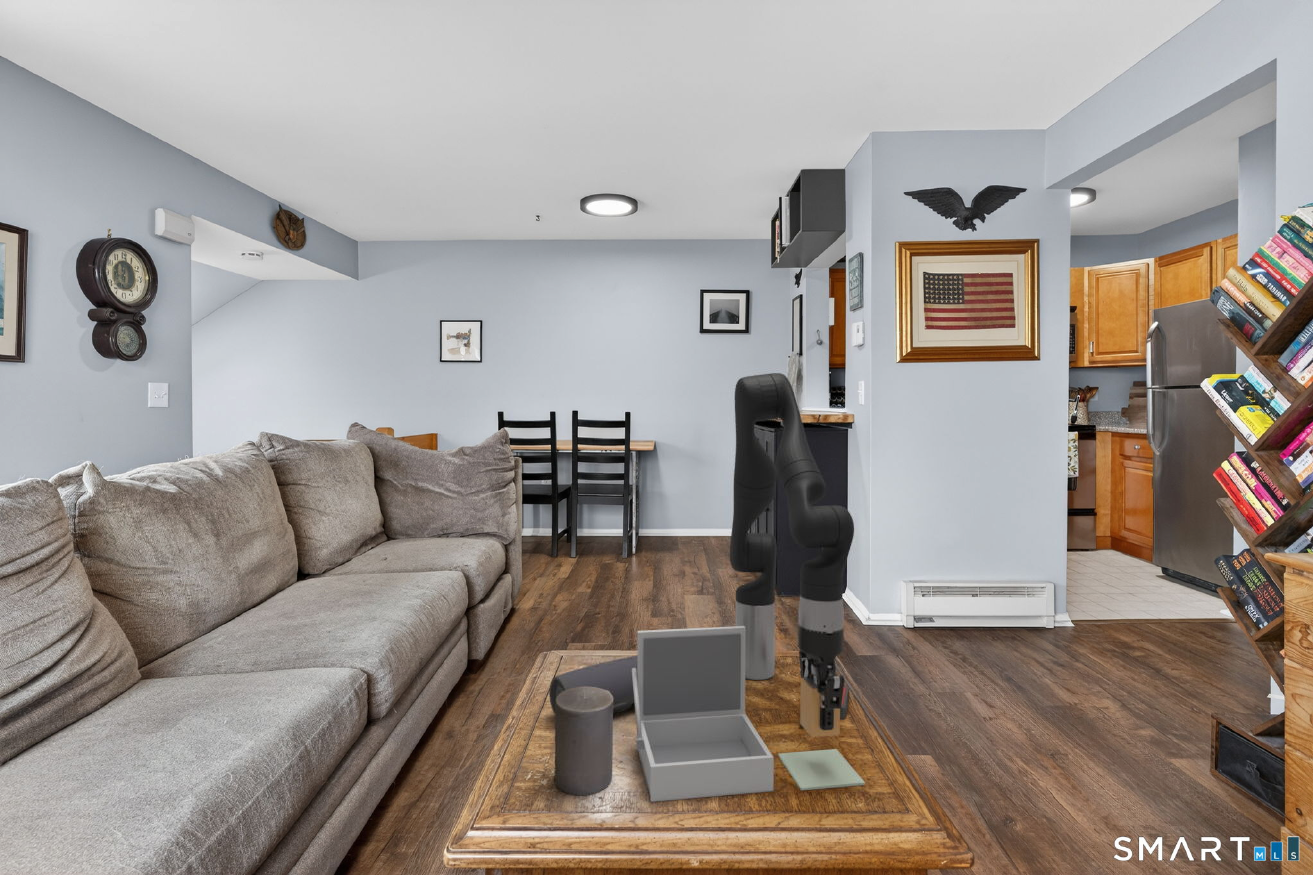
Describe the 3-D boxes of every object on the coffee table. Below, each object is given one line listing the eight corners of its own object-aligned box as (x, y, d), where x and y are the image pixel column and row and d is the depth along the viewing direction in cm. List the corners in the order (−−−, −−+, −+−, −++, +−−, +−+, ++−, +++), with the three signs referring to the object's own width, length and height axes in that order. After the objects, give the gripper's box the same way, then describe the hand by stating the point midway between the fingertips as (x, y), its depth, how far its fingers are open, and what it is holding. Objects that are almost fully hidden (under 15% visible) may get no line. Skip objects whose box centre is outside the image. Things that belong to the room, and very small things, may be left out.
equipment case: (630, 746, 119) (630, 630, 118) (742, 738, 122) (743, 624, 122) (643, 802, 101) (643, 666, 101) (773, 790, 105) (774, 658, 104)
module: (800, 723, 113) (800, 676, 113) (827, 721, 114) (827, 674, 114) (811, 737, 108) (811, 687, 108) (839, 735, 109) (840, 686, 109)
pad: (778, 755, 116) (778, 753, 116) (836, 751, 117) (836, 748, 117) (801, 790, 105) (801, 787, 105) (865, 784, 107) (865, 782, 107)
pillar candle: (542, 779, 108) (542, 690, 107) (586, 757, 115) (587, 673, 114) (580, 803, 101) (581, 709, 101) (625, 778, 108) (626, 690, 108)
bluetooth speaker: (642, 690, 144) (642, 645, 144) (666, 705, 136) (666, 658, 136) (547, 716, 131) (547, 667, 131) (568, 734, 123) (568, 682, 123)
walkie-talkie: (809, 691, 145) (795, 730, 126) (810, 671, 145) (795, 708, 126) (850, 697, 142) (842, 739, 123) (850, 677, 141) (842, 715, 123)
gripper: (785, 611, 117) (784, 704, 117) (816, 637, 103) (815, 743, 103) (824, 609, 118) (823, 702, 119) (861, 635, 104) (859, 740, 104)
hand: (819, 720), depth 111 cm, fingers closed on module, 5 cm apart
